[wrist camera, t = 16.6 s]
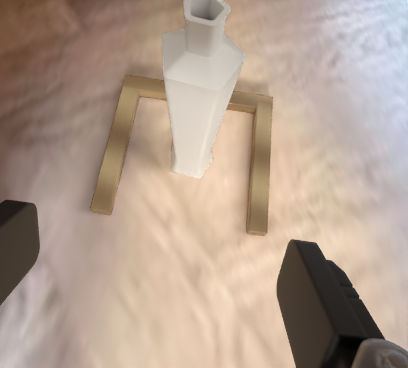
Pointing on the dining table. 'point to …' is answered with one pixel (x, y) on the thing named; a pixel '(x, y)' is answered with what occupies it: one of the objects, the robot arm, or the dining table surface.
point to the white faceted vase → (199, 82)
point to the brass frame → (156, 89)
